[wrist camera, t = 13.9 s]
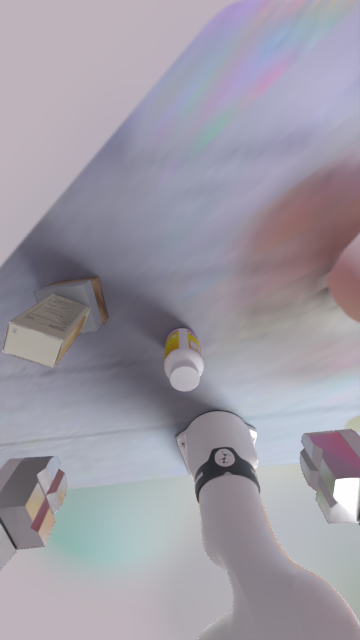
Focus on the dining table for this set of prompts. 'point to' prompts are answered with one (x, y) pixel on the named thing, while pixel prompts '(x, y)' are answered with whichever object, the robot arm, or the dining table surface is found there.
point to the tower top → (76, 300)
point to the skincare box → (45, 330)
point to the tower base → (97, 292)
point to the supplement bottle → (183, 359)
